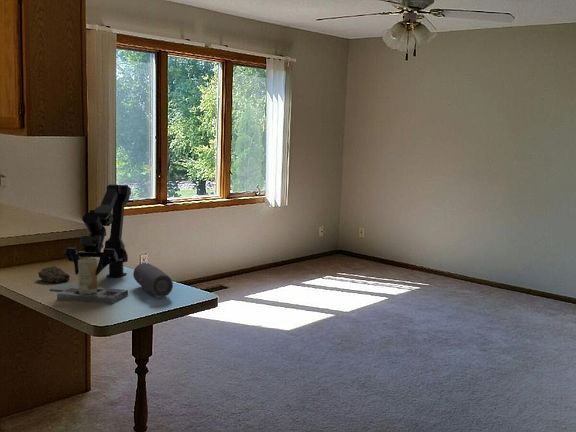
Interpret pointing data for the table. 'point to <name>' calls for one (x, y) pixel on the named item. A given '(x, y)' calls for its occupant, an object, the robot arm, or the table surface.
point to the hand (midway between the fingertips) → (86, 274)
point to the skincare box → (87, 276)
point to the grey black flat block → (100, 297)
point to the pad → (63, 287)
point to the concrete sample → (53, 275)
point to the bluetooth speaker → (153, 280)
